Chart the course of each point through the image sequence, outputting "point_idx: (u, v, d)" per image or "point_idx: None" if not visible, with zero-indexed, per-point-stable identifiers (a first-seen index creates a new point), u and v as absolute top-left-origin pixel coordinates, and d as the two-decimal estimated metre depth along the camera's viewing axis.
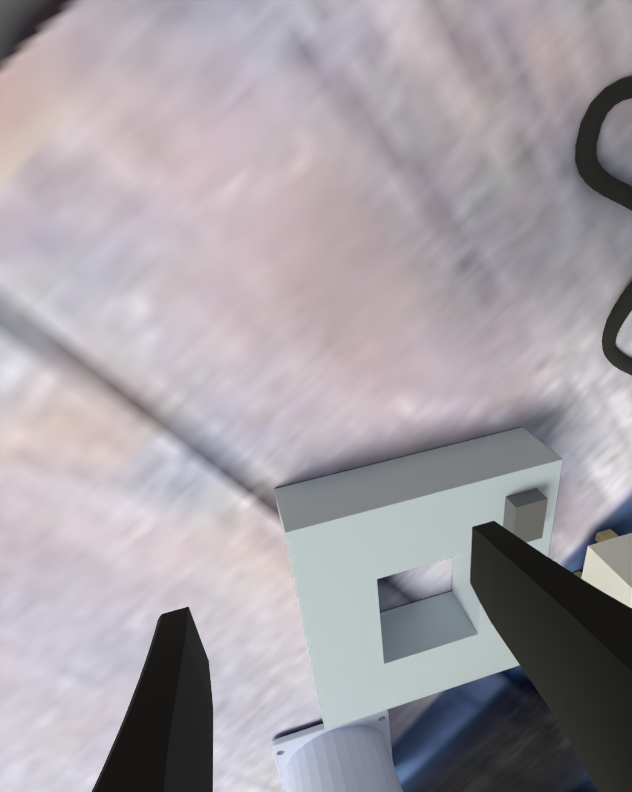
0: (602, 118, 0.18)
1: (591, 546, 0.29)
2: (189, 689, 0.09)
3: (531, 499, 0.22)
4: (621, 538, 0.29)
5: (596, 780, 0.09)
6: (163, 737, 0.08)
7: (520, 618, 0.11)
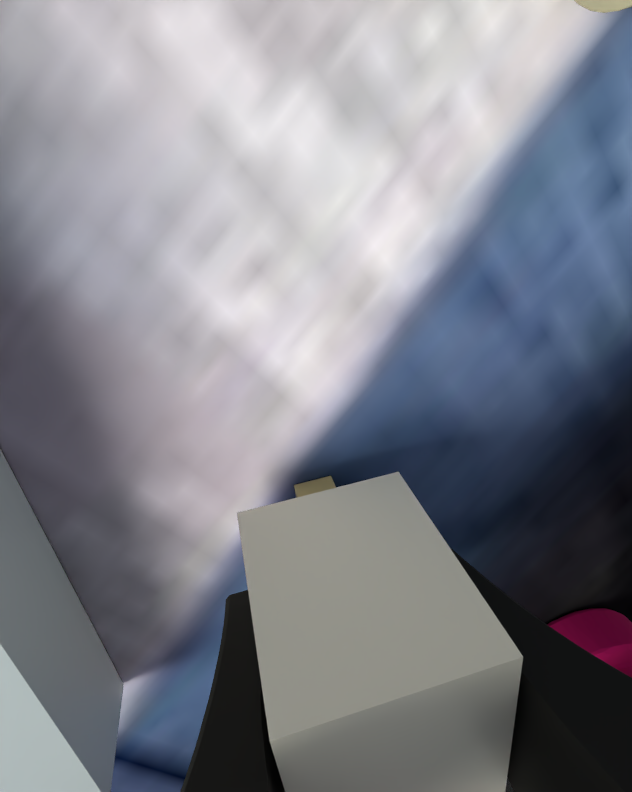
0: None
1: (248, 514, 0.11)
2: None
3: None
4: (327, 494, 0.11)
5: None
6: (254, 708, 0.08)
7: None
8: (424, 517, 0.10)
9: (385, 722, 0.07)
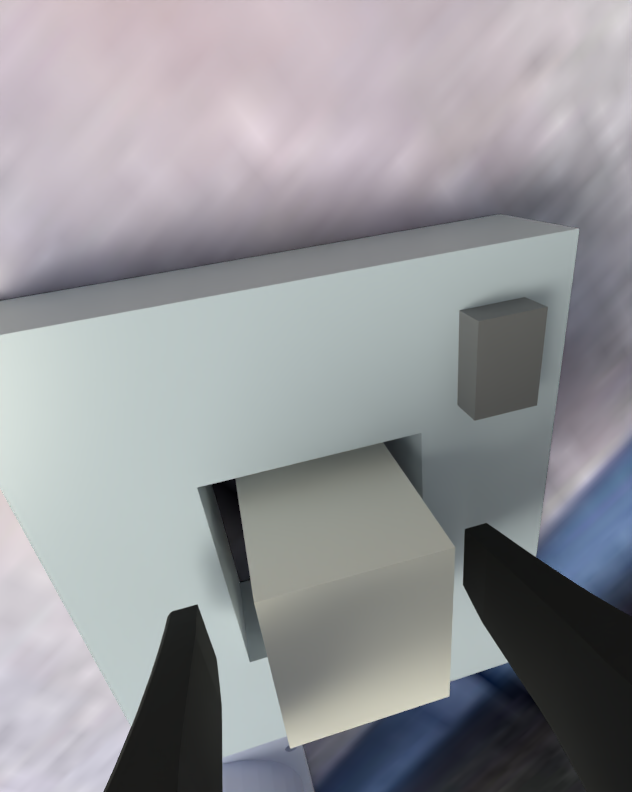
0: None
1: None
2: (199, 686, 0.09)
3: (513, 310, 0.10)
4: None
5: (587, 784, 0.09)
6: (175, 733, 0.08)
7: (512, 621, 0.11)
8: (388, 456, 0.12)
9: (345, 596, 0.09)
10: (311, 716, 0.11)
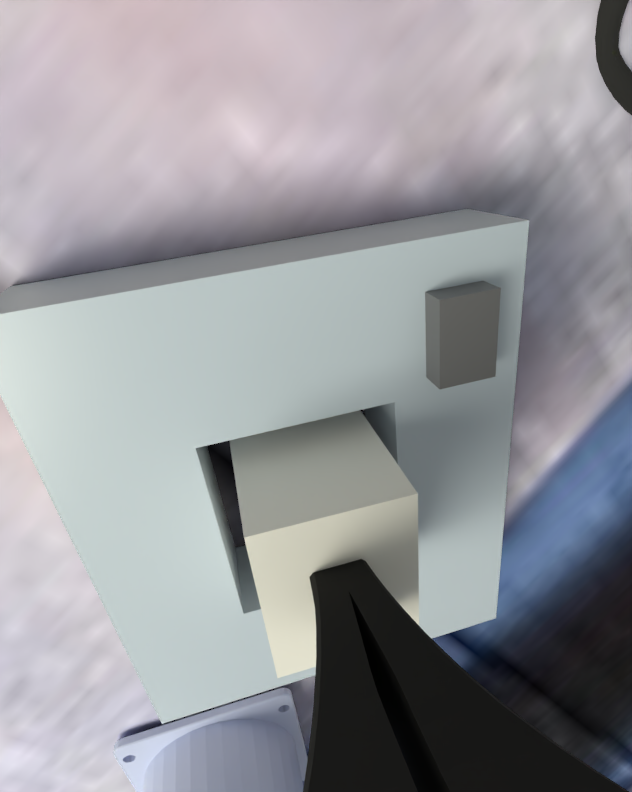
0: None
1: None
2: None
3: (470, 291, 0.12)
4: None
5: None
6: (364, 673, 0.08)
7: (371, 666, 0.10)
8: (366, 423, 0.14)
9: (323, 535, 0.11)
10: (296, 648, 0.12)
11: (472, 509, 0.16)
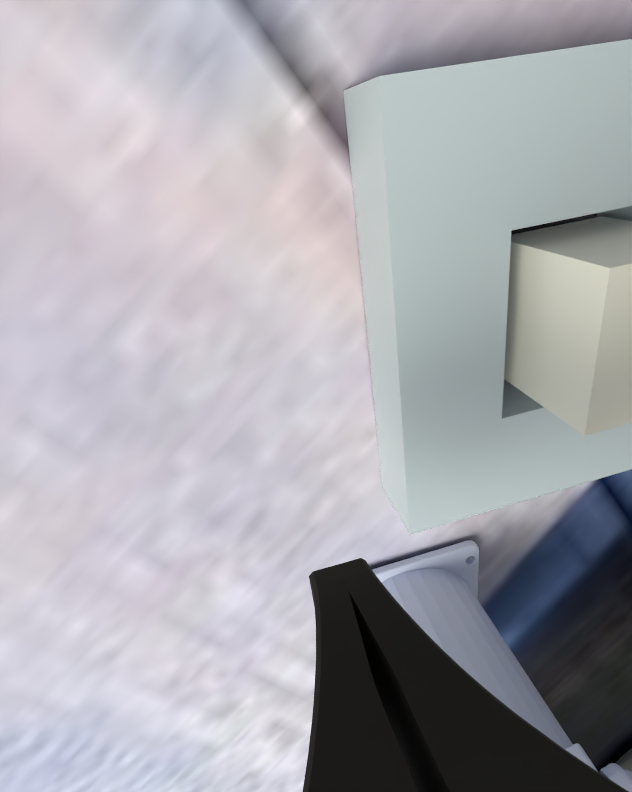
0: None
1: None
2: None
3: None
4: (556, 226, 0.16)
5: None
6: (364, 673, 0.08)
7: (371, 666, 0.10)
8: None
9: None
10: (607, 402, 0.14)
11: None
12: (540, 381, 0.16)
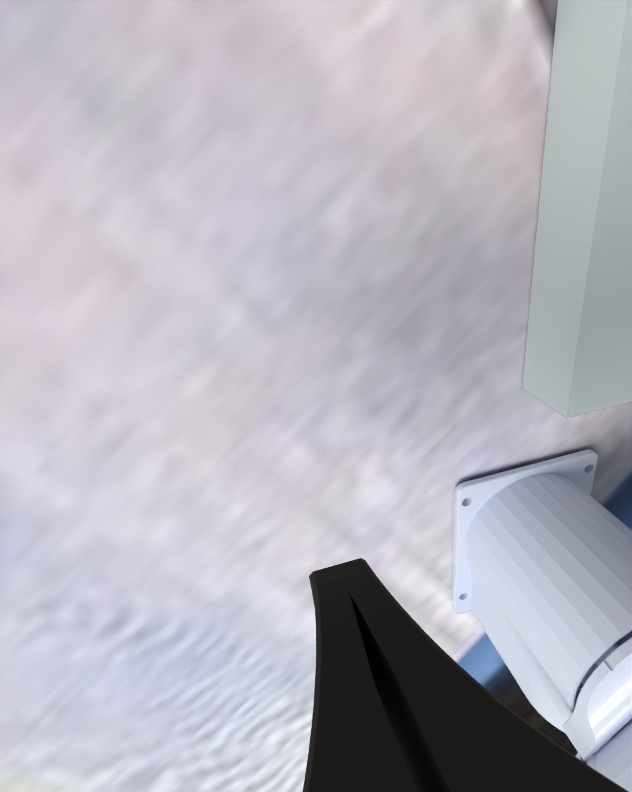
0: None
1: None
2: None
3: None
4: None
5: None
6: (364, 673, 0.08)
7: (371, 666, 0.10)
8: None
9: None
10: None
11: None
12: None
